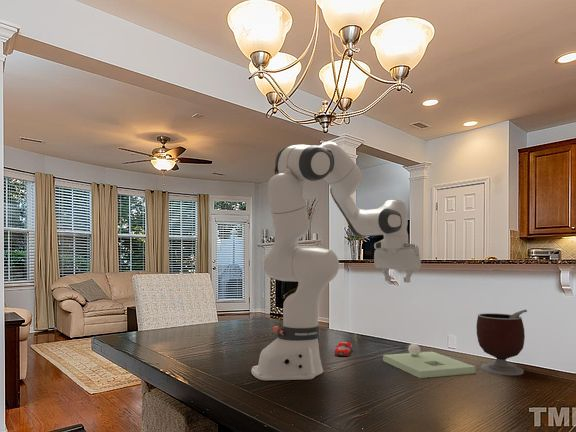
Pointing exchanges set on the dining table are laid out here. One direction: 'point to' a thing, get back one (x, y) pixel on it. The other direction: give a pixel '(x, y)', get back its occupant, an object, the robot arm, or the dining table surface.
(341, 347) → the race car
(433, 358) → the mat
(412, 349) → the ball
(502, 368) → the mate gourd
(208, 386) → the dining table surface
